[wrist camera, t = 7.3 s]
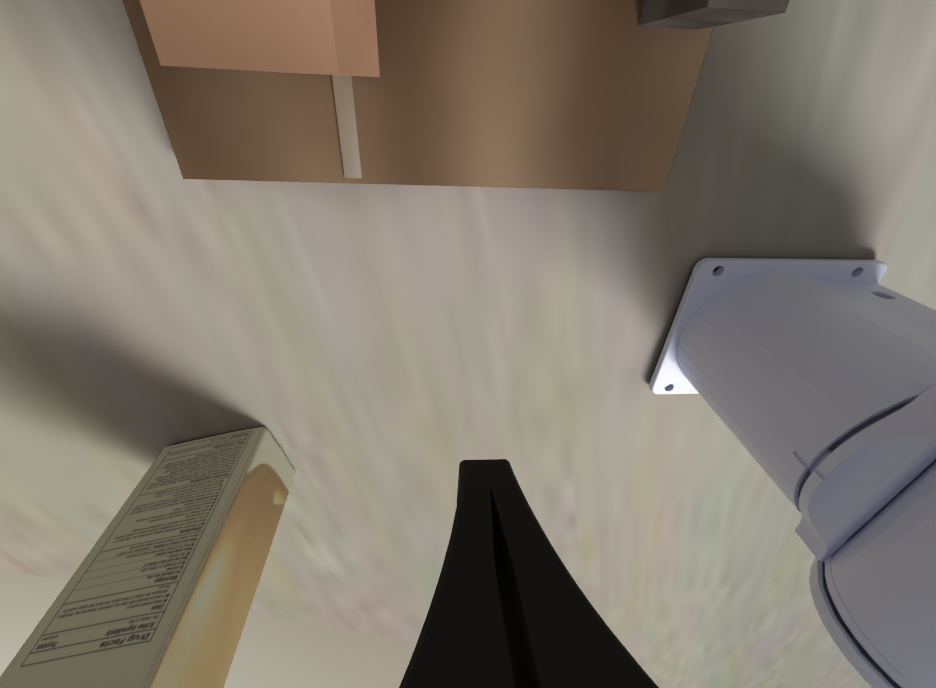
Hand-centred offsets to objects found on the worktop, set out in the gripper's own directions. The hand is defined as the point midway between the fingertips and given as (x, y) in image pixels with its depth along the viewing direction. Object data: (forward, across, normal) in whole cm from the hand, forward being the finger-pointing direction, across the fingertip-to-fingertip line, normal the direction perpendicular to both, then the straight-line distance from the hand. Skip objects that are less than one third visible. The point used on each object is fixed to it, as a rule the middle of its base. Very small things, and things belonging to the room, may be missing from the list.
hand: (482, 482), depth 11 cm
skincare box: (+10, +13, +10) cm, 19 cm away
